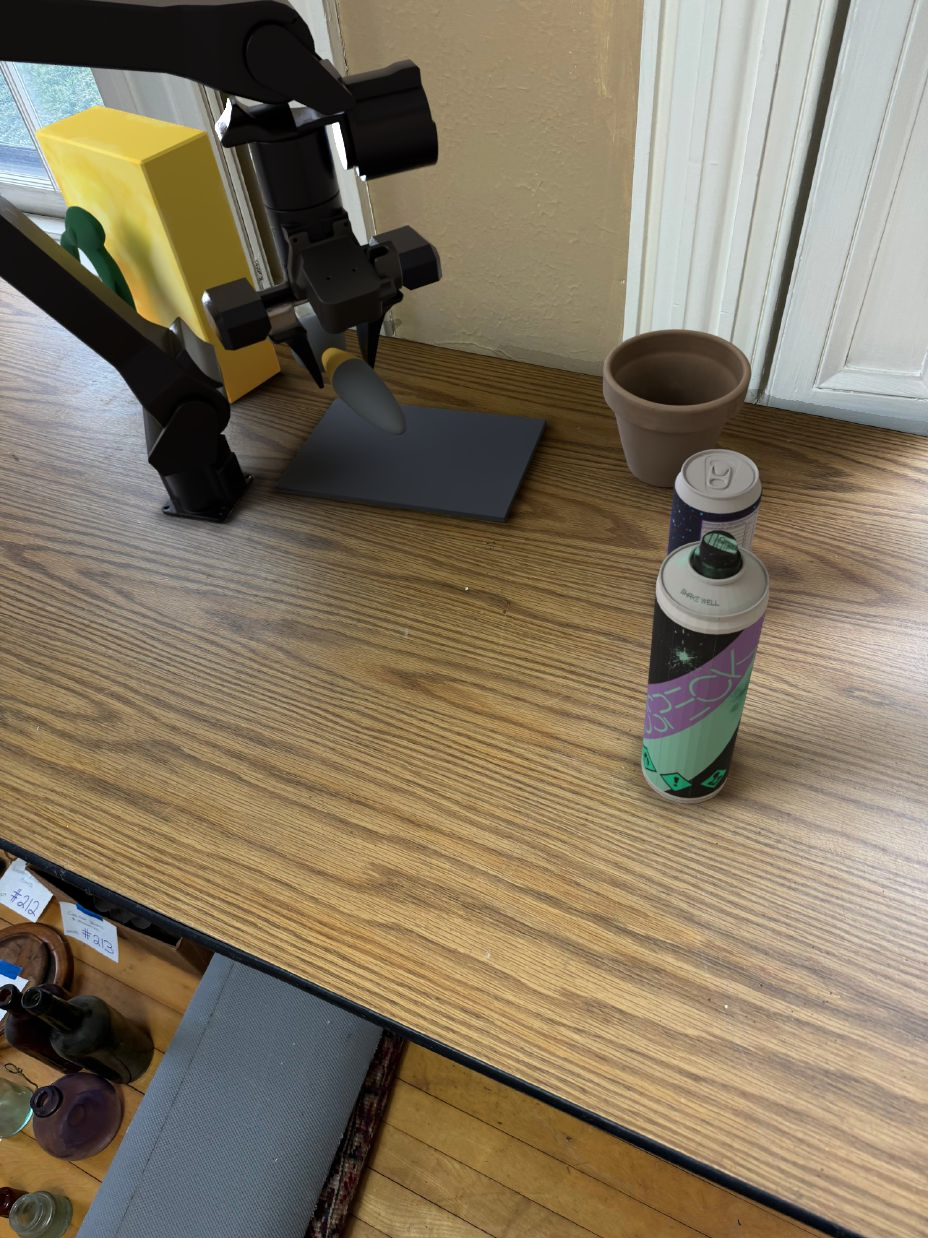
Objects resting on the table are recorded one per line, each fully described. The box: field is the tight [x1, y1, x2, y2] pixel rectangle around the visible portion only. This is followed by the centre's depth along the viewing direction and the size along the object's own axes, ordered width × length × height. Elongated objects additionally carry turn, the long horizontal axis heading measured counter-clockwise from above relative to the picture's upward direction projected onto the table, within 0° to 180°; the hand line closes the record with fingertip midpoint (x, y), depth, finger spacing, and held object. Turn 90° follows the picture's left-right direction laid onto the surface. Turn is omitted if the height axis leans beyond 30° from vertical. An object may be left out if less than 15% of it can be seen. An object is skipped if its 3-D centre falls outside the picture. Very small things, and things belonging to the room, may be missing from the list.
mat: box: [274, 397, 548, 524], centre depth 80 cm, size 22×14×1 cm, turn 72°
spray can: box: [640, 530, 771, 805], centre depth 48 cm, size 6×6×20 cm
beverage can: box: [666, 448, 763, 557], centre depth 60 cm, size 6×6×12 cm
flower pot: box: [602, 328, 752, 488], centre depth 71 cm, size 12×11×10 cm
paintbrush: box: [290, 314, 406, 435], centre depth 74 cm, size 20×5×5 cm, turn 38°
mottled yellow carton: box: [34, 104, 281, 404], centre depth 85 cm, size 18×12×24 cm
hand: (345, 377), depth 75 cm, fingers closed on paintbrush, 4 cm apart
